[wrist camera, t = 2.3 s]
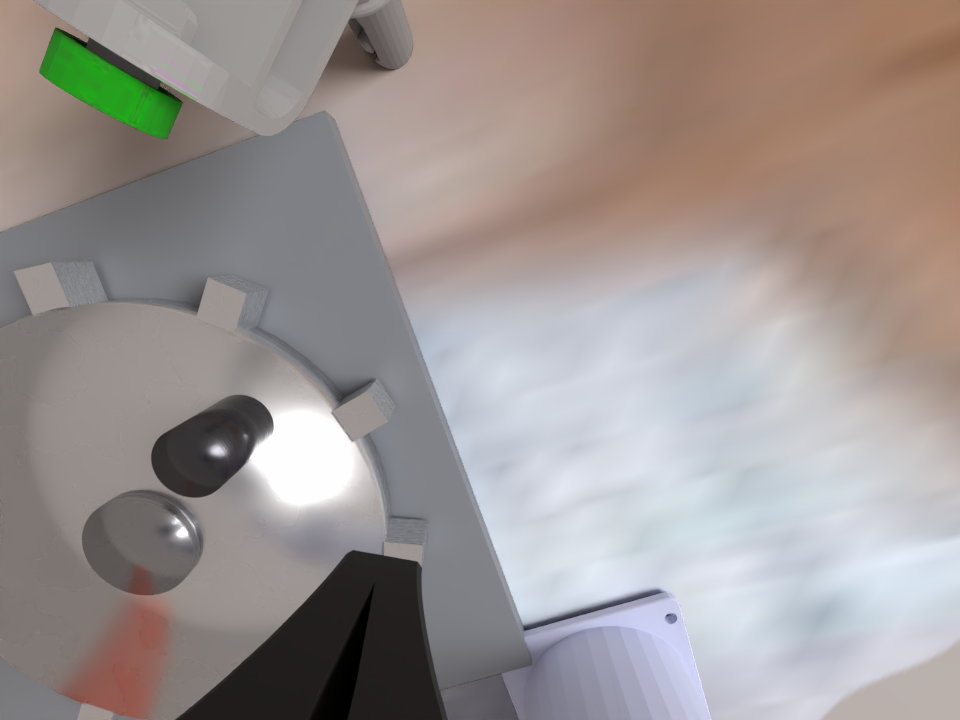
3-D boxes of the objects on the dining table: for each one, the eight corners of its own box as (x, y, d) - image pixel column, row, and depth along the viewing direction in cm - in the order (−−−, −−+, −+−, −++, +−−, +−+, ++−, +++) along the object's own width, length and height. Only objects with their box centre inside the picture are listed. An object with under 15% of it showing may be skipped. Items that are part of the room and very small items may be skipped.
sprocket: (244, 778, 20) (184, 914, 16) (-165, 527, 17) (-367, 614, 13) (525, 499, 17) (539, 579, 13) (83, 138, 14) (-81, 92, 10)
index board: (530, 644, 20) (534, 677, 19) (43, 778, 22) (10, 819, 20) (334, 119, 15) (317, 104, 14) (-270, 345, 17) (-345, 354, 16)
